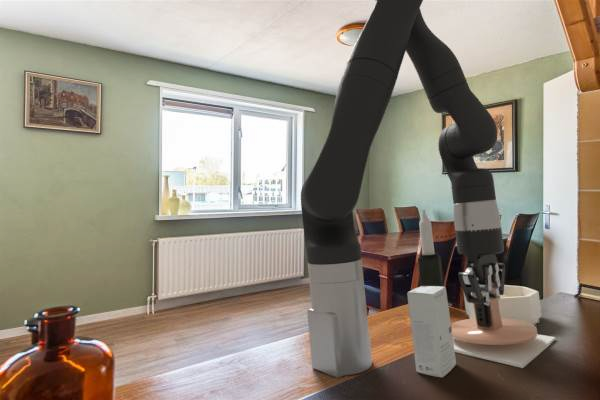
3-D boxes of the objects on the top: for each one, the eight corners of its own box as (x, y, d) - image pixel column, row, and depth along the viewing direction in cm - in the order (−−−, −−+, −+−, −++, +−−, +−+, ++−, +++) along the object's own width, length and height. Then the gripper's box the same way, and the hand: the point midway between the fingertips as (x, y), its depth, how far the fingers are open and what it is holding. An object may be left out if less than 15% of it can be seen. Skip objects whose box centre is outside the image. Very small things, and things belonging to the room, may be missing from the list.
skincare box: (444, 379, 50) (434, 293, 51) (414, 372, 53) (405, 292, 54) (457, 363, 55) (448, 285, 56) (429, 358, 58) (421, 284, 59)
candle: (443, 310, 86) (431, 208, 87) (422, 309, 88) (411, 210, 90) (446, 305, 90) (435, 208, 92) (426, 304, 93) (415, 210, 94)
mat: (522, 368, 52) (522, 364, 52) (430, 346, 63) (429, 343, 63) (555, 340, 61) (555, 337, 61) (469, 325, 73) (469, 323, 73)
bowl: (525, 333, 65) (521, 300, 66) (458, 321, 76) (454, 293, 76) (548, 316, 74) (544, 288, 74) (485, 308, 84) (481, 283, 84)
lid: (518, 350, 52) (511, 310, 53) (433, 337, 63) (428, 304, 64) (549, 326, 61) (543, 293, 62) (470, 318, 72) (465, 290, 73)
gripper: (480, 229, 56) (494, 339, 55) (515, 223, 65) (527, 317, 64) (437, 231, 62) (449, 330, 61) (474, 225, 71) (485, 312, 70)
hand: (489, 323), depth 62 cm, fingers closed on lid, 3 cm apart
